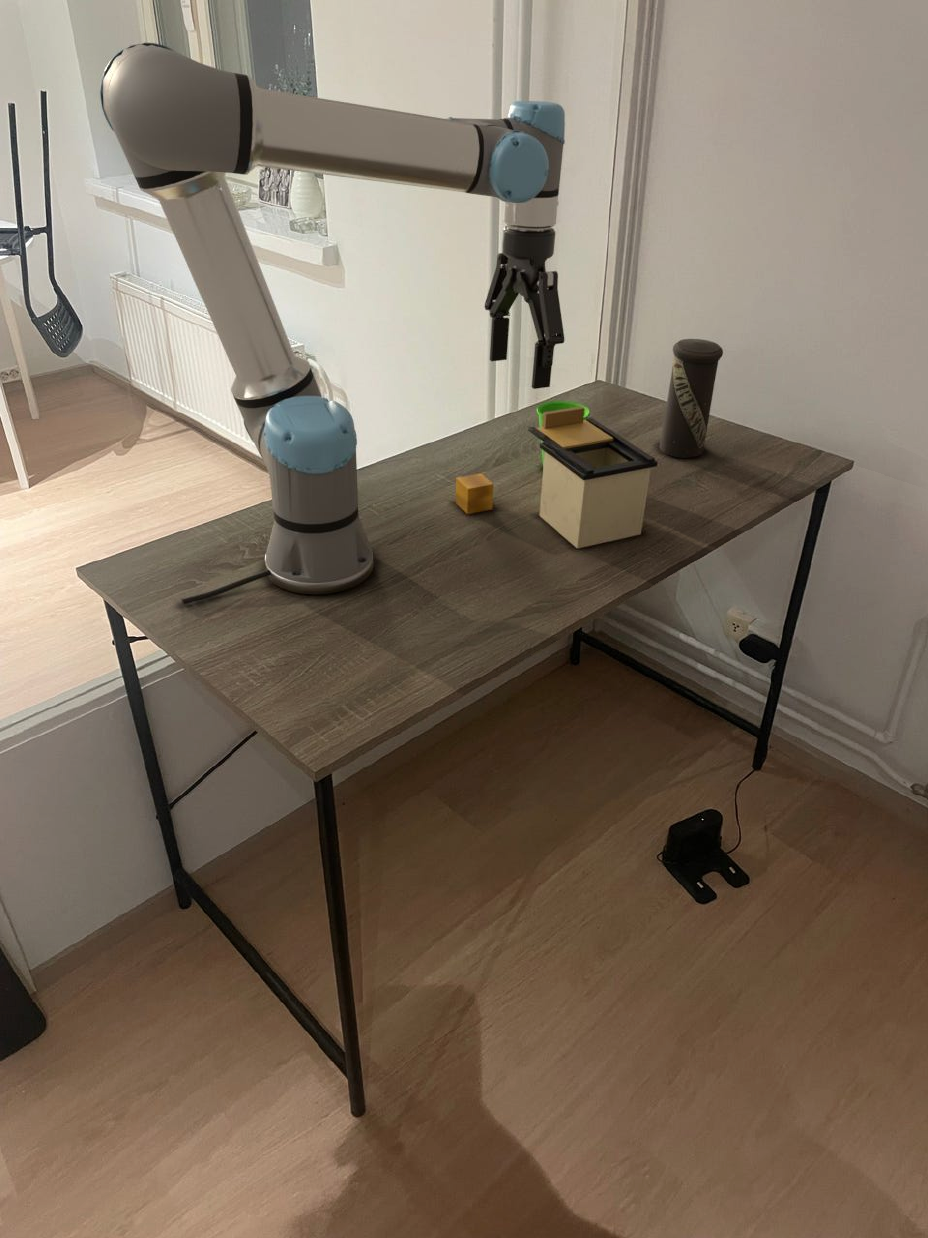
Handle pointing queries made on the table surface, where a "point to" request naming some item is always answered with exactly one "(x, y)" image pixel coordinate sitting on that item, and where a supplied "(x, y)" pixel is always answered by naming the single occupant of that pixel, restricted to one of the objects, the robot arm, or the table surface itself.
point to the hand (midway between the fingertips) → (518, 373)
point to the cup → (557, 406)
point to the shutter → (571, 428)
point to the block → (474, 493)
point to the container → (689, 397)
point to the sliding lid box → (594, 488)
